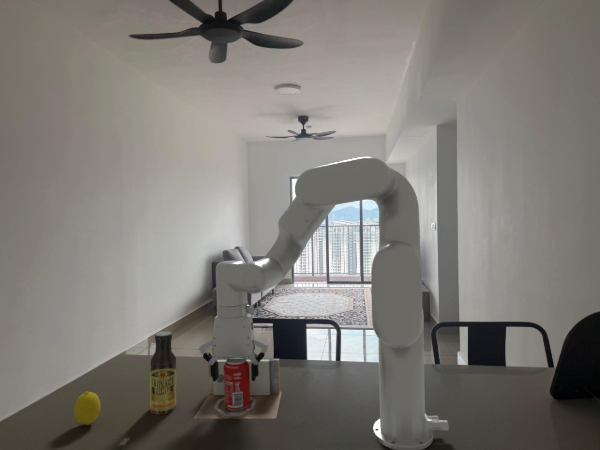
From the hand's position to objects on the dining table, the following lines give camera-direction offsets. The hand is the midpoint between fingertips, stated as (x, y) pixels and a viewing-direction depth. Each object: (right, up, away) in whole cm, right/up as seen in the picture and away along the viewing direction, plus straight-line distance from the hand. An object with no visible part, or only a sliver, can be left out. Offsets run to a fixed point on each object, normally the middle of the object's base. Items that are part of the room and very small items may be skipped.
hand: (234, 379), depth 97 cm
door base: (+1, -8, +2) cm, 8 cm away
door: (+1, -7, +6) cm, 9 cm away
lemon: (-34, -9, -4) cm, 36 cm away
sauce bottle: (-18, -9, +1) cm, 20 cm away
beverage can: (+1, -7, 0) cm, 7 cm away
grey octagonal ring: (0, -7, 0) cm, 7 cm away
